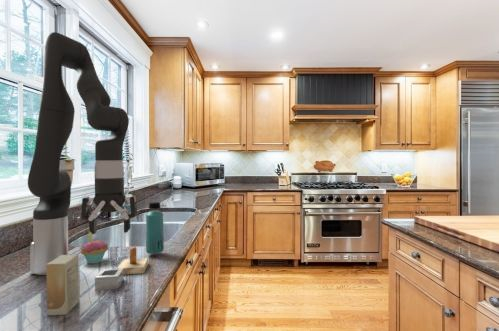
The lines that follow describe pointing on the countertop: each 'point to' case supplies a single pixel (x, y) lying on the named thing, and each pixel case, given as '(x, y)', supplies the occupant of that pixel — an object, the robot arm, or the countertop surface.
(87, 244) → the cupcake
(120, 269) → the link
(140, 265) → the keeper
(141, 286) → the countertop surface
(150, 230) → the beverage bottle
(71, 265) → the skincare box
